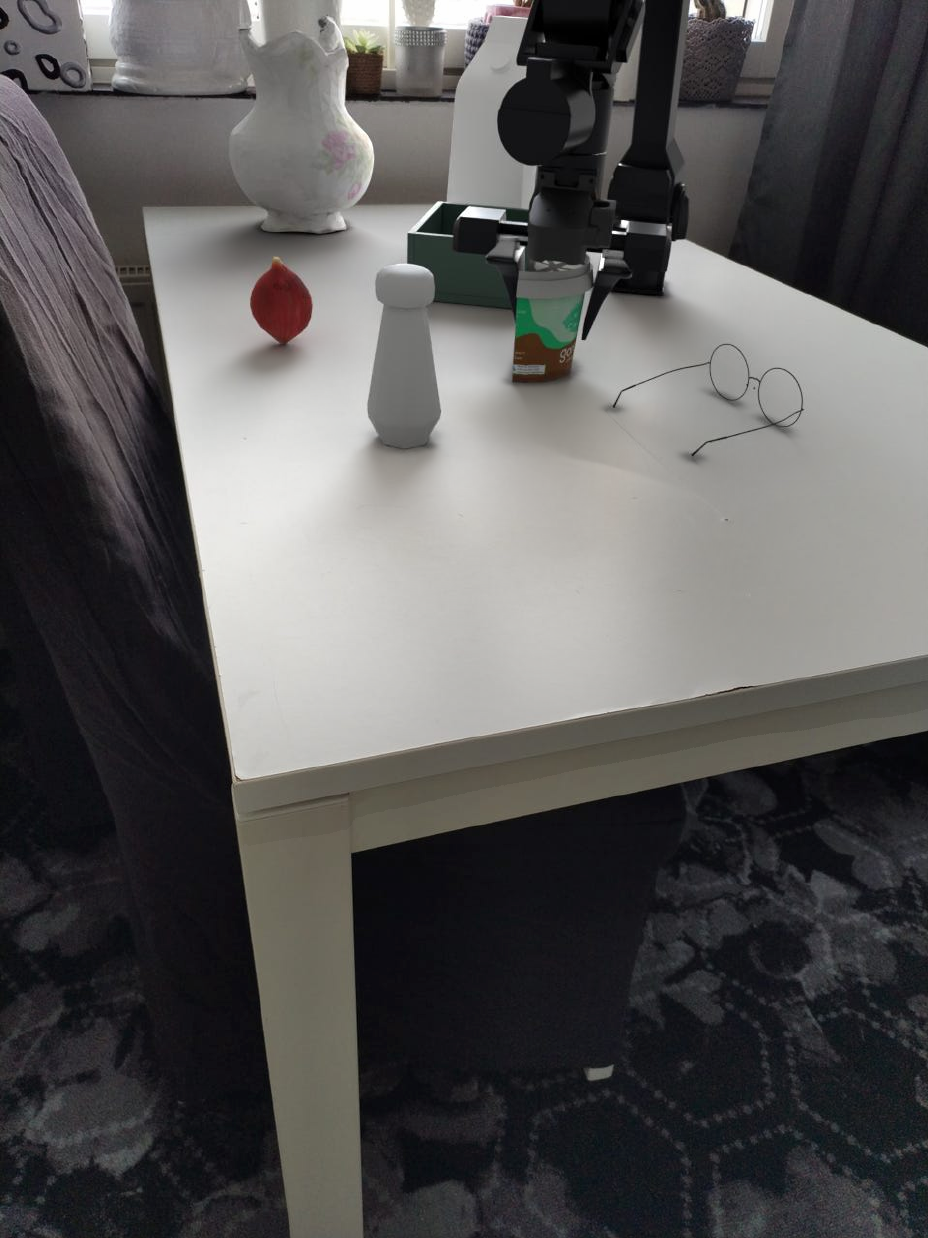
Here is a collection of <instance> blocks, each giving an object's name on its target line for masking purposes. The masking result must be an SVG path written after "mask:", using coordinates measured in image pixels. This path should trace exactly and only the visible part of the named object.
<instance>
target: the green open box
mask: <svg viewBox="0 0 928 1238" xmlns="http://www.w3.org/2000/svg"><path fill="white" fill-rule="evenodd" d="M469 206H471V207H482V208H493V209H504V210H506V221H512V222H523V223H528V212H529V209H521V208H509V207H498V206H486V205H475V204H463V203H452V202H446V201H440V200H439V201H438V200H437V202H436V203H435V204H434V205H433V206H432V207H431V208H430V209H428V211H427V212H426V213H424V215H423V216H422V217H421V218H420V220H418V222H417V223H415V225H413V226H412V228H411V229H410V230H409V231H408V232H407V234H406V235H407V237H406V241H407V243H406V246H407V247H406V254H407V255H406V264H413V265H417V266H421V267H424V268H426V269H428V270H429V271H430V272H431V273H432V274H433V277H434V285H435V293H434V299H433V302H441V303H450V304H451V303H452V304H460V305H469V306H481V307H491V308H502V309H509V310H512V307H511V303H510V299H509V295H508V291H507V288H506V286H505V283H504V280H503V278H502V275H501V274H500V272H499V270H498V269H497V267H496V266H494V265H488V264H486V261H485V258H486V256H487V255H480V254H470V253H460V252H456V251H453V250H452V247H453V229H454V223H455V221H456V220H457V219H458V217H459V216H460V215H461V214H462V213H463V212H464V211H465V210H466V209H467V208H468V207H469ZM529 261H530V259H529V258H528V256H527V246H525V271H526V269H527V266H528V264H529Z"/></svg>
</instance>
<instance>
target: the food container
mask: <svg viewBox="0 0 928 1238" xmlns="http://www.w3.org/2000/svg"><path fill="white" fill-rule="evenodd" d="M594 281H595V277H594V266H593V265H592V262H591V257H590V255H589V254H588V253H586V258H585V261H584V262H583V263H582V264H579V265H567V264H566V263H564V262H555V261H544V262H535V261H532V260H530V261H529V264H528V266H527V269H526V271H519V278H518V285H517V295H516V297H517V310H516V324H515V327H514V328H515V329H514V343H513V360H512V373H511V374H512V375H511V381H512V382H518V383H542V382H543V383H544V382H548V381H555V380H558V379H560V378H563V377H565V376H567V375H568V374H570V372H571V370H572V365H573V359H574V354H575V349H576V344H577V338H578V333H579V328H580V322H581V317H582V313H583V308H584V307H583V306H584V302H585V296H586V292H589V291H590V290H592V288H593V286H594Z"/></svg>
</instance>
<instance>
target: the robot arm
mask: <svg viewBox="0 0 928 1238" xmlns="http://www.w3.org/2000/svg"><path fill="white" fill-rule="evenodd" d="M690 7H691V0H532V3H531V7H530V11H529V13H528V17H527V18H528V20H527V24H526V27H525V30H524V34H523V37H522V41H521V44H520V47H519V51H518V54H517V58H516V63H517V65H518V66H527V67H526V78H524V79H522V80H520V81H518V82H517V83H515V84H514V85H513V86H512V87H511V88H510V89H509V90H508V92H507V93H506V95H505V96H504V98H503V100H502V103H501V106H500V109H499V110H498V115H497V128H498V133H499V137H500V141H501V143H502V145H503V147H504V149H505V150H506V151H507V152H508V154H509V155H510V156H511V157H512V158H514V159H515V160H516V161H518V162H520V163H522V164H525V165H528V166H536V175H535V186H534V193H533V195H532V198H531V200H530V203H529V212H528V223H523V222H512V221H506V210H504V209H493V208H482V207H471V206H469V207H468V208H467V209H466V210H465V211H464V212H463V213H462V214H461V215H460V216H459V217H458V219H457V220H456V221H455V223H454V229H453V247H452V250H453V251H456V252H460V253H470V254H480V255H487V256H486V258H485V261H486V264H488V265H494V266H496V267H497V269H498V270H499V272H500V274H501V275H502V278H503V280H504V283H505V286H506V288H507V291H508V295H509V299H510V303H511V307H512V309H511V312H512V316H513V320H514V324H515V325H516V310H517V297H516V295H517V285H518V278H519V271H525V246H527V256H528V258H529V259H530V260H532V261H535V262H544V261H555V262H564V263H566V264H567V265H579V264H582V263H583V262H584V261H585V258H586V254H587V253H593V254H600V258H599V262H598V266H597V268H596V269H597V270H596V274H595V277H594V286H593V287H592V288H591V292H590V297H589V300H588V303H587V307H586V312H585V315H584V319H583V324H582V330H581V338H580V340H581V341H584V342H585V341H587V338H588V336H589V334H590V331H591V329H592V327H593V326H594V323H595V321H596V319H597V317H598V315H599V312H600V310H601V308H602V306H603V304H604V302H605V300H606V298H607V297H608V295H609V294H610V292H611V291H615V292H625V293H635V294H646V295H654V296H655V295H657V296H663V295H665V294H664V293H665V278H666V273H667V272H668V268H669V263H670V262H669V261H670V257H671V250H672V243H673V242H674V243H675V242H676V241H683V240H684V241H685V240H686V239H687V233H688V227H689V221H690V220H689V219H690V197H689V196H688V185H687V183H684V179H685V168H686V160H685V159H684V155H683V154H682V152H681V150H680V148H679V145H678V143H677V141H676V138H675V131H676V122H677V116H678V115H677V114H678V107H679V99H680V98H679V97H680V89H681V80H682V72H683V65H684V56H685V47H686V41H687V40H686V39H687V33H688V32H687V31H688V25H689V24H688V22H689V14H690ZM640 29H641V31H640ZM639 32H640V40H639V51H638V62H637V64H638V65H637V73H636V84H635V85H636V86H635V97H634V108H633V109H634V110H633V119H632V131H631V142H630V145H629V147H628V148H627V150H626V151H625V153H624V154H623V155H622V157H621V159H620V161H619V162H618V163H617V165H616V166H615V168H614V171H612V172H613V173H612V176H611V179H610V181H609V185H608V189H607V196H606V199H605V198H604V199H603V198H602V199H601V197H602V189H603V183H604V173H605V167H606V159H607V151H608V144H609V143H608V142H609V135H610V128H611V121H612V113H613V104H614V99H615V91H616V87H615V85H616V82H617V79H618V73H620V70H621V68H622V65H623V64H628V63H629V59H630V57H631V54H632V51H633V48H634V46H635V43H636V41H637V37H638V35H639ZM544 39H545V42H543V41H544ZM670 224H671V225H670Z"/></svg>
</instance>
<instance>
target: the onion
mask: <svg viewBox="0 0 928 1238" xmlns="http://www.w3.org/2000/svg"><path fill="white" fill-rule="evenodd" d="M249 307H250V311H251V314H252V317H253V319H254V320H255V321H256V323H257V324H258V326H259V327H260V329H262V330H263V331H264V332H266V334H268V335H269V336H270V337H272V339H274V340H275V341H276V342H278V343H279V344H281V345H285V344H287V343H289V342H291V340H293V339H294V338H296V337H298V336H299V335H300V334H302V332H304V331H305V329H307V328H308V326H309V324H310V322H311V319H312V316H313V315H312V314H313V308H314V303H313V296H312V294H311V292H310V290H309V288H308V287H307V286H306V284H305V283H304V280H302V278H301V277H300V276H299V275H298V274H297V273H296V272H294V271H293V270H291V269H290V268H289V267H288V266H287V265H286V264H284V262H282V260H281V258H280V257H279V256H272V261H271V266H270V268H269V269H267V270H266V271H265V272H264V273H262V275H260V277H259V278H258V279H257V281H256V282H255V284H254V286H253V289H252V290H251V294H250V298H249Z"/></svg>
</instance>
